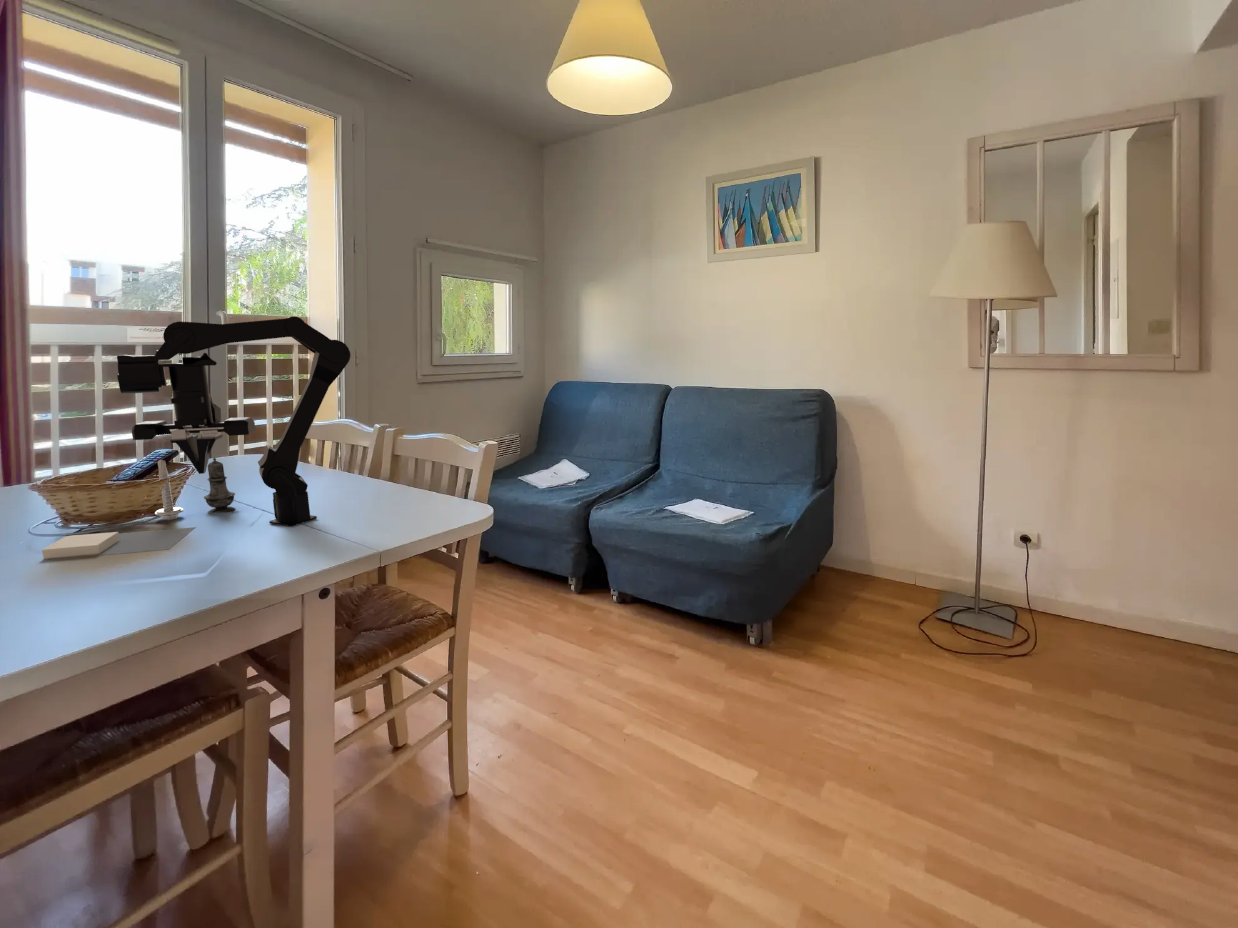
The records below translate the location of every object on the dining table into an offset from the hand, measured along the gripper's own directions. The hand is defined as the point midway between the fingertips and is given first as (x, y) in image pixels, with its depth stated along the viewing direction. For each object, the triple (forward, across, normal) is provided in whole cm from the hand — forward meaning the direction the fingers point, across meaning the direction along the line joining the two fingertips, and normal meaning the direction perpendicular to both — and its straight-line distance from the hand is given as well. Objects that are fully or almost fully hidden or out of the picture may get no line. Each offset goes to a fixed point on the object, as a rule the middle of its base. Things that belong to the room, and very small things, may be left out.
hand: (202, 473), depth 122 cm
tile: (+11, +15, +5) cm, 19 cm away
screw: (+12, +11, -13) cm, 21 cm away
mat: (+12, +13, +3) cm, 18 cm away
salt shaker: (+12, +3, -18) cm, 22 cm away
